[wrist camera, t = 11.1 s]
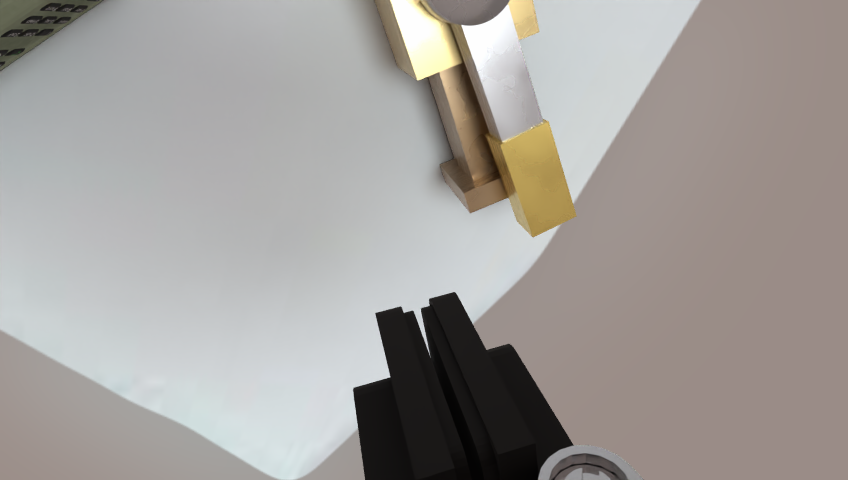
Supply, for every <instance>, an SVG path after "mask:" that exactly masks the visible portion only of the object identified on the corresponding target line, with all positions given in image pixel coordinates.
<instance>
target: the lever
mask: <svg viewBox="0 0 848 480" xmlns="http://www.w3.org/2000/svg"><path fill="white" fill-rule="evenodd" d="M509 1H510V0H421V2H422V4H423V5H424V7H425V8H426V9H427V11H429V12H430V13H431V14H432V15H433V16H434V17H436V18H437V19H439V20H441V21H444V22H446V23H450V24H451V27H452V29H453V32H454V35H455V38H456V41H457V43H458V46H459V49H460V52H461V54H462V57H463V60H464V63H465V66H466V68H467V71H468V74H469V77H470V80H471V82H472V85H473V88H474V91H475V94H476V96H477V99H478V102H479V105H480V108H481V110H482V113H483V116H484V119H485V121H486V124H487V127H488V130H489V133H487V134H486V137H487V140H488V143H489V145H490V148H491V151H492V154H493V156H494V159H495V162H496V165H497V167H498V170H499V173H500V176H501V178H502V181H503V184H504V187H505V189H506V192H507V195H508V198H509V200H510V203H511V206H512V209H513V212H514V214H515V217H516V220H517V222H518V223H519V224H520V225H521V226H522V227H523V228H524V229H525V230H526V231H527V232H528V233H529V234H530V235H531V236H532V237H535V236H537V235H539V234H541V233H543V232H545V231H547V230H549V229H551V228H553V227H555V226H557V225H560V224H562V223H564V222H566V221H568V220H570V219H572V218H574V217H576V213H575V209H574V206H573V203H572V199H571V196H570V192H569V189H568V186H567V182H566V179H565V175H564V172H563V169H562V165H561V162H560V159H559V155H558V152H557V148H556V145H555V142H554V138H553V135H552V131H551V128H550V125H549V122H548V121H546V120H544V119H542V116H541V112H540V109H539V106H538V102H537V99H536V96H535V92H534V89H533V86H532V82H531V79H530V76H529V72H528V69H527V66H526V62H525V59H524V56H523V52H522V49H521V46H520V42H519V39H518V36H517V32H516V29H515V26H514V22H513V19H512V16H511V12H510V9H509V5H508V3H509Z"/></svg>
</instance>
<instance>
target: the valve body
mask: <svg viewBox="0 0 848 480" xmlns="http://www.w3.org/2000/svg"><path fill="white" fill-rule="evenodd" d="M375 3H376V6H377V9H378V12H379V15H380V17H381V20H382V23H383V26H384V29H385V32H386V35H387V38H388V40H389V43H390V46H391V49H392V52H393V55H394V58H395V60H396V63H397V66H398V68H400V69H401V70H403V71H404V72H406V73H407V74H409V75H410V76H412V77H413V78H415V79H416V80H417V81H418V80H420V79H423V78H425V77H428V79H429V82H430V85H431V88H432V91H433V94H434V97H435V100H436V103H437V106H438V109H439V112H440V115H441V119H442V122H443V125H444V128H445V131H446V134H447V137H448V140H449V143H450V146H451V149H452V152H453V155H454V159H452V160H449V161H447V162H445V163H442V164H440V167H441V170H442V173H443V176H444V179H445V182H446V183H447V185H448V186H449V187H450V188H451V190H452V191H453V192H454V193H455V195H456V196H457V197H458V198H459V200H460V201H461V202H462V204H463V205H464V206H465V207H466V209H467V210H468V211H469V212H470V213H472V212H474V211H477V210H479V209H482V208H484V207H487V206H489V205H491V204H494V203H496V202H499V201H501V200H503V199H506V198H508V195H507V192H506V189H505V187H504V184H503V181H502V178H501V176H500V173H499V170H498V167H497V165H496V162H495V159H494V156H493V154H492V151H491V148H490V145H489V143H488V140H487V137H486V134H487V133H489V130H488V127H487V124H486V121H485V119H484V116H483V113H482V110H481V108H480V105H479V102H478V99H477V96H476V94H475V91H474V88H473V85H472V82H471V80H470V77H469V74H468V71H467V68H466V66H465V63H464V60H463V57H462V54H461V52H460V49H459V46H458V43H457V41H456V38H455V35H454V32H453V29H452V27H451V24H450V23H446V22H444V21H441V20H439V19H437V18H436V17H434V16H433V15H432V14H431V13H430V12H429V11H427V9H426V8H425V7H424V5H423V4H422V2H421V0H375ZM508 5H509V9H510V12H511V16H512V19H513V22H514V26H515V29H516V32H517V36H518V39H519V40H521V39H523V38H526V37H528V36H531V35H533V34H536V33H538V32H539V28H538V23H537V18H536V13H535V9H534V4H533V0H510V1H509V3H508Z"/></svg>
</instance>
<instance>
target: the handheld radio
mask: <svg viewBox="0 0 848 480" xmlns="http://www.w3.org/2000/svg"><path fill="white" fill-rule="evenodd" d="M101 1H103V0H0V70H2V69H3V68H5V67H6V66H8V65H9V64H11V63H12V62H14V61H15V60H17V59H18V58H19V57H21V56H22V55H24V54H25V53H27V52H28V51H30V50H31V49H33V48H34V47H36V46H37V45H39V44H40V43H41V42H43V41H44V40H46V39H47V38H49V37H50V36H52V35H53V34H55V33H56V32H58V31H59V30H60V29H62V28H63V27H65V26H66V25H68V24H69V23H71V22H72V21H74V20H75V19H77V18H78V17H80V16H81V15H82V14H84V13H85V12H87V11H88V10H90V9H91V8H93V7H94V6H96V5H97V4H99V3H100V2H101Z"/></svg>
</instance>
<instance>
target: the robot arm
mask: <svg viewBox="0 0 848 480" xmlns="http://www.w3.org/2000/svg"><path fill="white" fill-rule="evenodd" d="M429 304H430V306H428V307H424V308H421V313H422V318H423V323H424V327H425V332H426V337H427V342H428V347H429V352H430V355H429V352H428V350H427V347H426V344H425V341H424V339H423V336H422V333H421V330H420V328H419V325H418V322H417V319H416V317H415V314H414V311H409V312H406V313H403V310H402V307H401V306H400V307H397V308H393V309H389V310H386V311H382V312H378V313H375V314H376V318H377V322H378V327H379V331H380V335H381V339H382V343H383V347H384V352H385V356H386V360H387V364H388V368H389V372H390V378H387V379H383V380H380V381H376V382H373V383H369V384H366V385H362V386H359V387H355V388H354V389H353V392H354V401H355V408H356V415H357V423H358V430H359V437H360V445H361V452H362V459H363V466H364V474H365V480H644V479H643V478H642V477H641V476H640V475H639V474H638V473H637V472H636V471H635V470H634V469H633V468H632V467H631V466H630V465H629V464H628V463H627V462H625V461H624V460H623V459H622V458H621V457H620V456H618V455H616V454H614V453H612V452H610V451H608V450H606V449H603V448H599V447H595V446H590V445H578V446H577V445H576V446H574V445H573V444H572V442H571V440H570V439H569V437H568V435H567V434H566V432H565V430H564V429H563V427H562V426H561V424H560V422H559V421H558V419H557V418H556V416H555V414H554V412H553V411H552V409H551V408H550V406H549V404H548V403H547V401H546V399H545V398H544V396H543V394H542V393H541V391H540V390H539V388H538V387H537V385H536V383H535V381H534V380H533V378H532V377H531V375H530V373H529V372H528V370H527V368H526V367H525V365H524V364H523V362H522V361H521V359H520V357H519V356H518V354H517V352H516V351H515V349H514V348H513V347H512V345H510V344H507V345H503V346H499V347H496V348H492V349H489V350H486V349H485V347H484V345H483V343H482V341H481V339H480V337H479V335H478V333H477V332H476V330H475V328H474V326H473V324H472V322H471V320H470V318H469V317H468V315H467V313H466V311H465V309H464V307H463V305H462V303H461V301H460V300H459V298H458V296H457V294H456V293H455V292H453V293H449V294H445V295H442V296H438V297H434V298H430V299H429ZM430 357H431V358H430Z"/></svg>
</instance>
